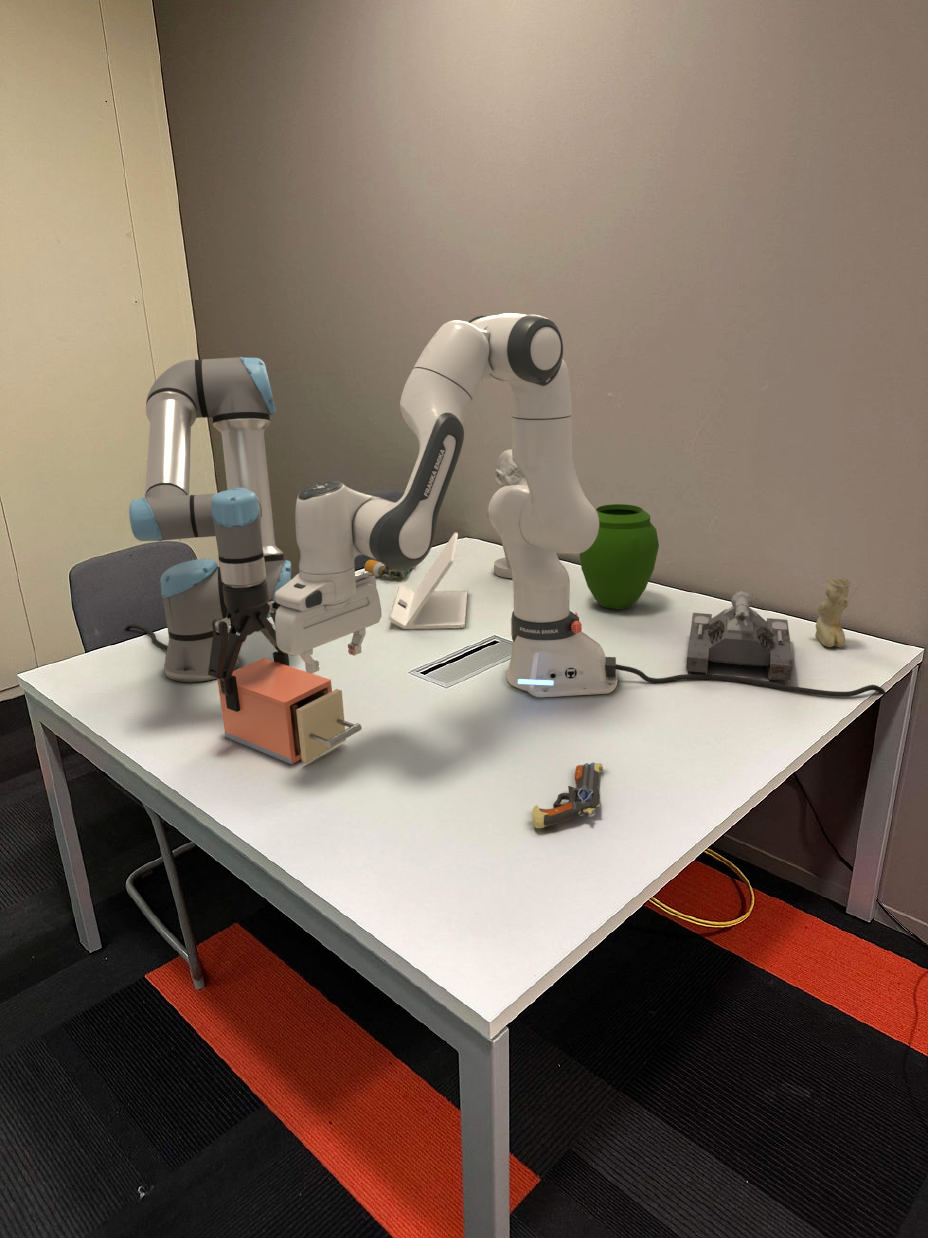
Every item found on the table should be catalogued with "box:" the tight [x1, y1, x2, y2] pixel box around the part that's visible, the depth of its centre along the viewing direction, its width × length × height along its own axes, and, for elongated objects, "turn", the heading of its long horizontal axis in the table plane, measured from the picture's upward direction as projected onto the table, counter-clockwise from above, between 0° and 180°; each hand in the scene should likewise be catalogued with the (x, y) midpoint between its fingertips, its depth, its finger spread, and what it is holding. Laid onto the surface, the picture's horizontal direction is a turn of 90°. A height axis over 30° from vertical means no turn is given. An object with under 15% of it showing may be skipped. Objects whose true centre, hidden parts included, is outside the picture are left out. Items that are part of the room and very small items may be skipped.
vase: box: [579, 503, 660, 610], centre depth 210 cm, size 20×20×24 cm
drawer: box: [290, 688, 363, 764], centre depth 148 cm, size 21×10×10 cm, turn 53°
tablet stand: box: [388, 531, 468, 630], centre depth 211 cm, size 18×25×17 cm
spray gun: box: [364, 559, 409, 579], centre depth 245 cm, size 4×17×15 cm
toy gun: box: [531, 762, 604, 829], centre depth 132 cm, size 3×19×10 cm
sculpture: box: [814, 576, 852, 648], centre depth 185 cm, size 6×7×15 cm
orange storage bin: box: [216, 657, 333, 766], centre depth 152 cm, size 18×11×12 cm, turn 53°
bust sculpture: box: [485, 448, 527, 579], centre depth 231 cm, size 16×24×35 cm
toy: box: [685, 591, 794, 683], centre depth 178 cm, size 25×20×15 cm
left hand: (259, 697), depth 154 cm, fingers closed on orange storage bin, 11 cm apart
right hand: (334, 662), depth 143 cm, fingers open, 8 cm apart
